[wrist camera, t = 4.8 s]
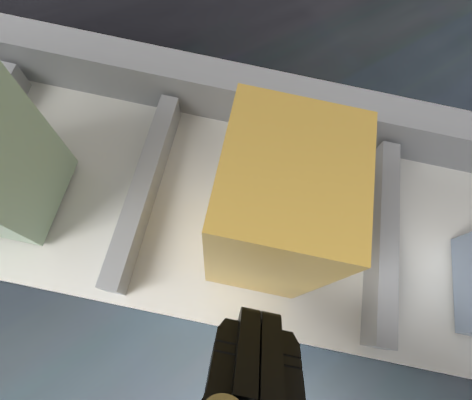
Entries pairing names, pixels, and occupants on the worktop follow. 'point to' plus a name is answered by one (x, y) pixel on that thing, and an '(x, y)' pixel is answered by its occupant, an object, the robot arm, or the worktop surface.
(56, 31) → the white divided tray
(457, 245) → the blue-grey block
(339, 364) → the worktop surface
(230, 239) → the yellow rectangular block
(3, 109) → the pale green block
